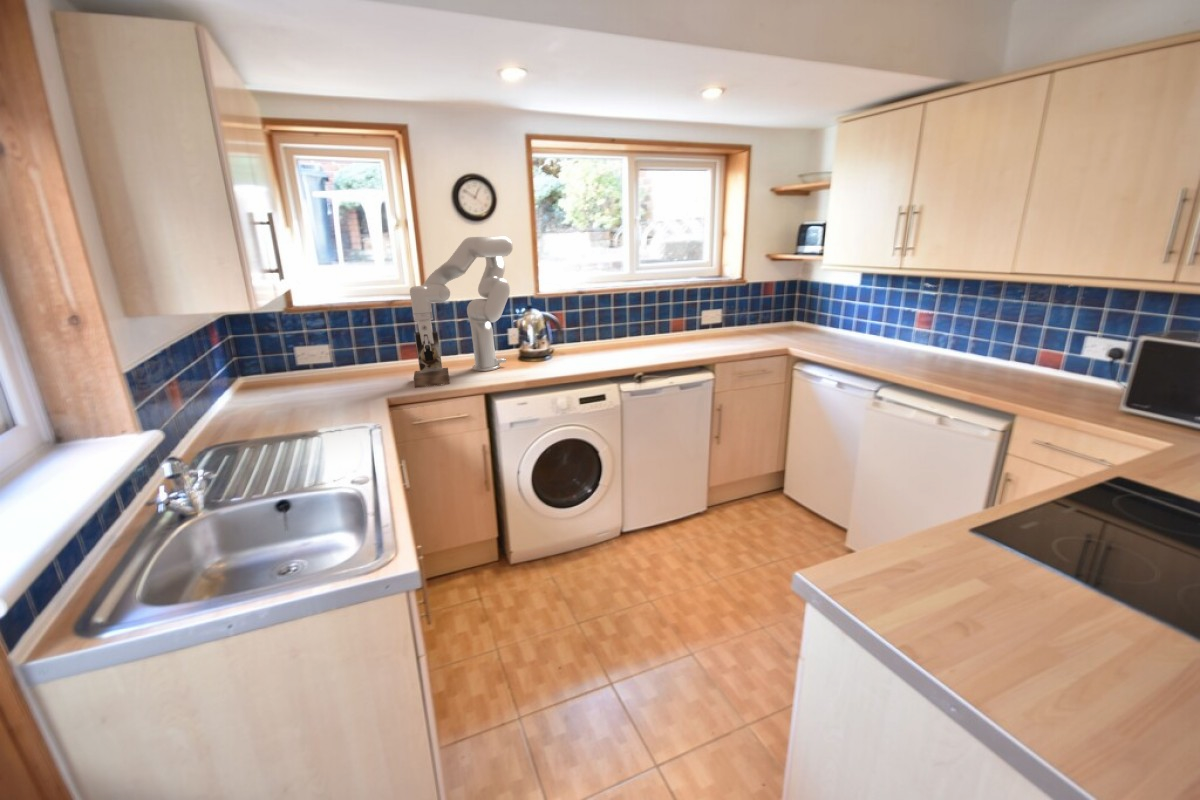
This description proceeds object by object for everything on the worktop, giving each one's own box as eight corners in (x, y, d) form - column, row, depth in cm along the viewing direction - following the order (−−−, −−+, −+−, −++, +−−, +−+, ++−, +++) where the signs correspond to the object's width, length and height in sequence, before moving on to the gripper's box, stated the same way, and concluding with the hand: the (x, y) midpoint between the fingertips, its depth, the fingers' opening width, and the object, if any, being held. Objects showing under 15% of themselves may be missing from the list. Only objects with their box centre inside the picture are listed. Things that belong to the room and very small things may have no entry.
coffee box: (420, 372, 221) (414, 334, 216) (419, 369, 227) (413, 332, 222) (443, 369, 224) (437, 332, 219) (441, 366, 230) (436, 329, 225)
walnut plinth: (449, 376, 235) (447, 367, 234) (449, 383, 223) (448, 374, 222) (416, 379, 231) (414, 371, 230) (415, 387, 219) (413, 378, 218)
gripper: (432, 318, 211) (438, 362, 217) (432, 312, 227) (438, 353, 233) (413, 320, 209) (419, 364, 215) (414, 314, 225) (420, 355, 231)
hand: (429, 358), depth 224 cm, fingers closed on coffee box, 6 cm apart
